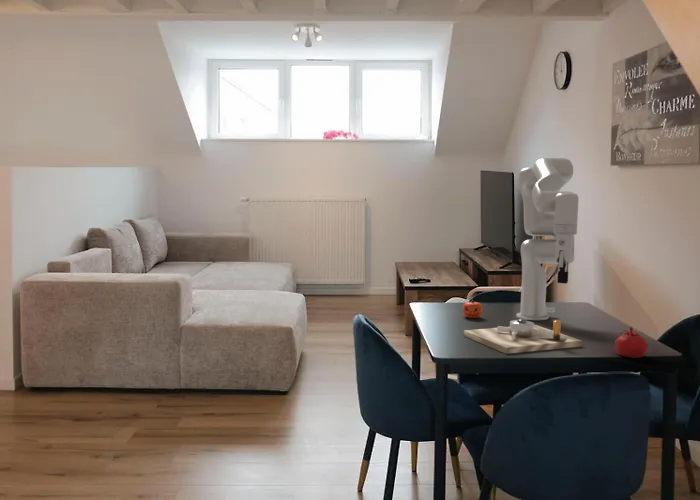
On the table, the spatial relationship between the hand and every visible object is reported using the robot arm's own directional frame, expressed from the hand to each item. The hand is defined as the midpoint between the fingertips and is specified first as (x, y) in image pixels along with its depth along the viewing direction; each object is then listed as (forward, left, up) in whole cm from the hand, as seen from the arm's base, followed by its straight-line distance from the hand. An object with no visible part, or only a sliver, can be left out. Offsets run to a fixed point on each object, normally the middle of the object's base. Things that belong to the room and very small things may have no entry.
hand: (562, 282), depth 243 cm
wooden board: (+13, -5, -20) cm, 24 cm away
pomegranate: (-9, +23, -21) cm, 33 cm away
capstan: (+11, -3, -18) cm, 21 cm away
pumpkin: (+8, -45, -21) cm, 50 cm away
